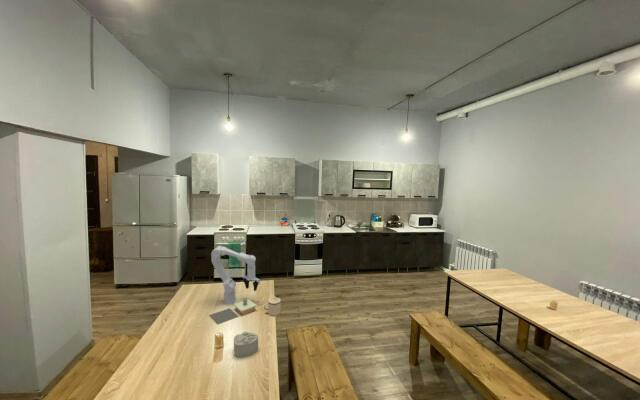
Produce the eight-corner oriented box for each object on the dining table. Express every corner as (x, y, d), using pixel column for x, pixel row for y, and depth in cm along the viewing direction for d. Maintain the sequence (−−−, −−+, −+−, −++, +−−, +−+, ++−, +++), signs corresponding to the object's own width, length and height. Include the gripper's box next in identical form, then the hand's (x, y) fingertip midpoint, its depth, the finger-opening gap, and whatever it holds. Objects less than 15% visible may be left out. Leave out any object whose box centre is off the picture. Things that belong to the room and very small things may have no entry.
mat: (208, 315, 186) (208, 315, 186) (229, 308, 196) (229, 308, 196) (217, 325, 175) (217, 324, 175) (239, 317, 185) (239, 316, 185)
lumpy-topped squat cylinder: (233, 346, 155) (233, 332, 154) (257, 342, 159) (257, 328, 158) (234, 358, 145) (234, 343, 144) (259, 353, 149) (259, 339, 148)
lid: (233, 305, 194) (233, 298, 194) (248, 300, 202) (248, 293, 202) (241, 311, 185) (241, 304, 185) (256, 306, 193) (256, 299, 193)
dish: (235, 310, 195) (235, 305, 194) (248, 306, 201) (248, 301, 201) (242, 316, 187) (242, 310, 187) (255, 311, 194) (255, 306, 194)
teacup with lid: (280, 308, 198) (280, 293, 197) (281, 315, 189) (281, 299, 188) (263, 310, 195) (263, 294, 194) (263, 316, 186) (263, 300, 185)
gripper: (240, 271, 204) (240, 289, 205) (255, 275, 197) (255, 293, 198) (246, 269, 210) (246, 285, 211) (261, 272, 203) (261, 289, 205)
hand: (251, 289), depth 205 cm, fingers open, 7 cm apart
